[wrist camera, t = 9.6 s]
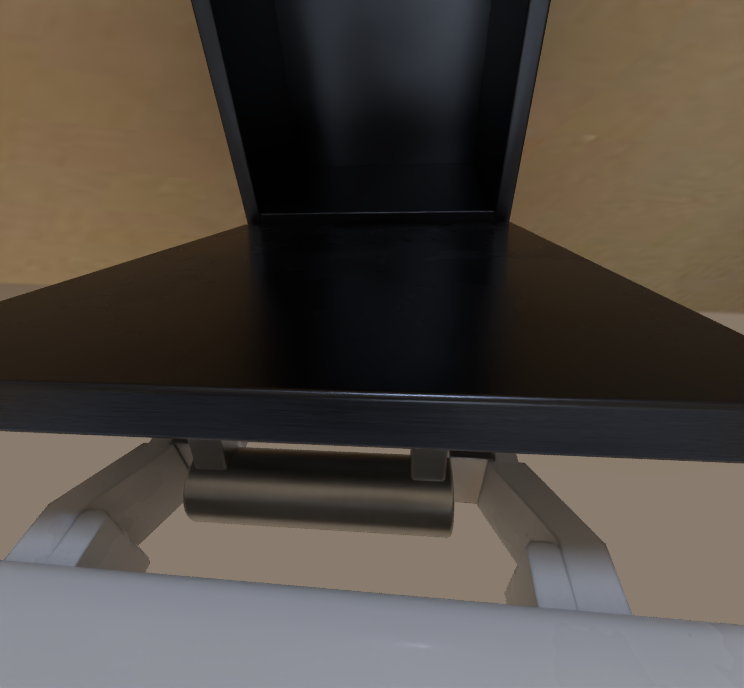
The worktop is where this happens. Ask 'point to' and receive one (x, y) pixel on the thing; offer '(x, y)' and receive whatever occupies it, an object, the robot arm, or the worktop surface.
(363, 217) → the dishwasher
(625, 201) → the worktop surface
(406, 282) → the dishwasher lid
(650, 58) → the worktop surface
